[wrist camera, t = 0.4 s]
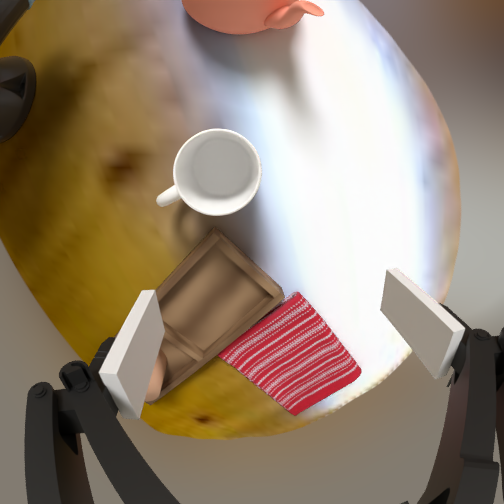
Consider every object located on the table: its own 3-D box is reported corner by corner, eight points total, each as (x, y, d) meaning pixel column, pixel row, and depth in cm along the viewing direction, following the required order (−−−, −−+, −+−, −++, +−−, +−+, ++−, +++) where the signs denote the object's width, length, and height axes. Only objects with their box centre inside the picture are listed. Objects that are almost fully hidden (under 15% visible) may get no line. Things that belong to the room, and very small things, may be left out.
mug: (182, 221, 37) (165, 246, 28) (154, 167, 34) (126, 173, 25) (264, 182, 36) (276, 193, 26) (237, 124, 33) (238, 114, 24)
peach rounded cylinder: (121, 356, 43) (109, 383, 37) (141, 334, 42) (129, 363, 35) (153, 378, 45) (145, 406, 39) (175, 359, 44) (168, 389, 37)
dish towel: (290, 409, 52) (292, 419, 50) (211, 345, 45) (210, 355, 42) (361, 367, 49) (366, 376, 47) (298, 286, 42) (301, 294, 40)
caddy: (98, 355, 44) (92, 365, 41) (215, 226, 38) (213, 233, 35) (153, 394, 48) (150, 405, 45) (281, 287, 41) (284, 297, 39)
